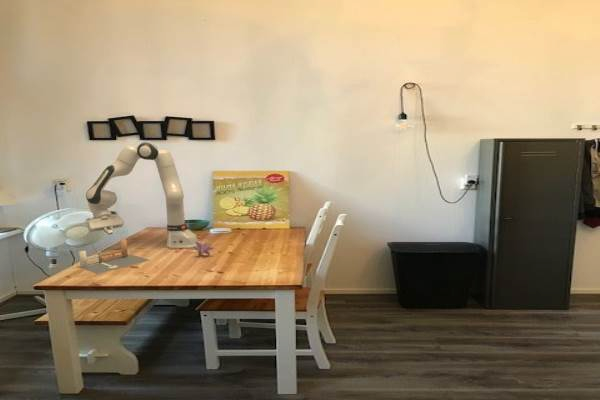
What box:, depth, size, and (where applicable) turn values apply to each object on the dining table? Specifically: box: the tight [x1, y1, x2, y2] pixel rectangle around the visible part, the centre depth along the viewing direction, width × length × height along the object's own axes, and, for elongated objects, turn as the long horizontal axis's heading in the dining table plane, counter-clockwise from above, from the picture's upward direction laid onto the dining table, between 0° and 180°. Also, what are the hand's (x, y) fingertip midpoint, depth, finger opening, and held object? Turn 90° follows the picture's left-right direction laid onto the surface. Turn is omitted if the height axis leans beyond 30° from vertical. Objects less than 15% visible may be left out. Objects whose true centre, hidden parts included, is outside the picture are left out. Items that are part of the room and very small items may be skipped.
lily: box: [192, 240, 215, 259], centre depth 223 cm, size 12×12×10 cm
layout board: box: [78, 253, 150, 275], centre depth 212 cm, size 22×30×1 cm
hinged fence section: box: [101, 238, 129, 261], centre depth 220 cm, size 3×14×10 cm, turn 143°
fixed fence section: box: [78, 250, 103, 269], centre depth 209 cm, size 3×12×8 cm, turn 143°
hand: (110, 233), depth 233 cm, fingers closed
